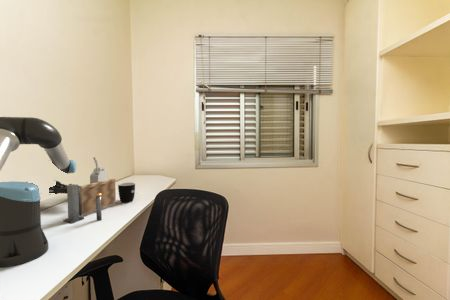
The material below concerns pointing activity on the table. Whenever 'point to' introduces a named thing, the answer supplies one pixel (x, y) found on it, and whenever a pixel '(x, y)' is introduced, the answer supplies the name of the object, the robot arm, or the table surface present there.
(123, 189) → the mug
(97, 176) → the fuel canister
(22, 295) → the table surface
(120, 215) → the table surface
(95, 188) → the panel
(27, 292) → the table surface
